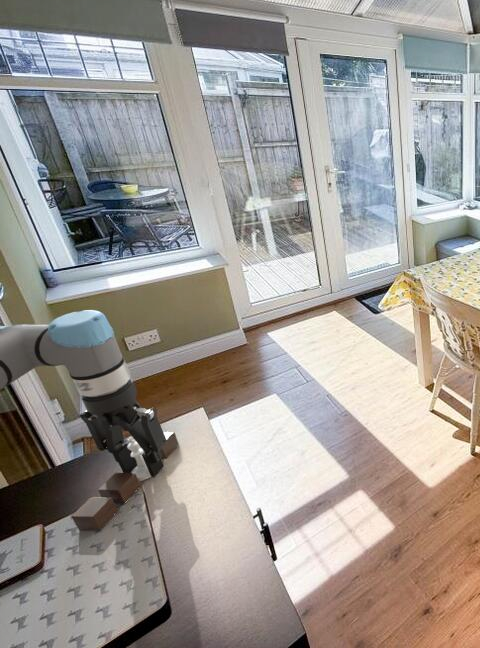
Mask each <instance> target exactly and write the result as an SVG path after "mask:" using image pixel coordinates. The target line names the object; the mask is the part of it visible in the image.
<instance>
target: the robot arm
mask: <svg viewBox="0 0 480 648" xmlns="http://www.w3.org/2000/svg"><path fill="white" fill-rule="evenodd" d="M58 366H63V367H65V368H66V370H67V371H68V374H69V377H70V378H71V379H72V381H73V383H74V385H75V387H76V390H77V391H78V394H79V395H80V399H81V401H82V403H83V405H84V407H85V410H84V411H82V412H81V413H79V416H78V417H79V418H80V419H81V421H83V422H84V423H85V424H86V427H87V429H88V431H89V433H90V435H91V437H92V439H93V441H94V443H95V445H96V447H97V449H98V450H99V451H100V452H104V451H105V450H107V452H108V453H110V454H112V457H113V458H114V461H115V462H116V463H118V466H119V467H120V469H121V471H122V473H131V471H132V470H133V469H134V468H135V467H136V466H137V462H136V458H135V457H131V453H132V451H131V450H129V449H128V448H127V446H128V444H129V443H126V442H128V441H127V439H124V432H128V433H129V434H130V436H131V437H132V438H133V439H134V440H135V441H136V442H137V443H138V444H139V448H141V449H143V453H142V454H141V455H142V457H143V459H144V461H145V464H146V466H147V468H148V470H149V473H150V475H151V477H150V478H156V476H157V475H158V474H159V473H160V472H161V471H162V470H163V469H164V468H165V464H164V461H163V459H161V458H162V454H161V452H160V449H161V448H162V447H163V445H164V444H165V443H166V442H167V440H166V437H165V435H164V433H163V432H164V431H163V428H162V426H161V422H160V420H159V418H158V409H157V408H156V407H154V406H151V407H150V408H149V409H148V408H143V407H142V405H141V404H140V403H139V402H138V400H137V396H138V395H137V394H138V390H137V387H136V383H135V382H134V380H133V378H132V373H131V372H130V369H129V367H128V365H127V362H126V360H125V358H124V356H123V353H122V351H121V349H120V347H119V344H118V341H117V338H116V336H115V331H114V329H113V327H112V326H111V324H110V322H109V320H108V319H107V317H106V315H105V314H104V313H103V312H101V311H99V310H95V309H84V310H81V311H72V312H70V313H66V314H63V315H60V316H58V317H56V318H54V319H53V320H51V322H50V323H49V324H25V323H24V324H20V323H19V324H18V323H17V324H10V325H1V326H0V391H1V390H3V389H4V388H6V387H7V386H9V385H10V384H12V383H14V382H15V381H17V380H18V379H20V378H21V377H23V376H25V375H26V374H28V373H29V372H31V371H32V370H33V369H36V368H38V367H58ZM106 447H107V448H106Z"/></svg>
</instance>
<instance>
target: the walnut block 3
mask: <svg viewBox="0 0 480 648" xmlns="http://www.w3.org/2000/svg"><path fill="white" fill-rule="evenodd" d="M163 433H164V435H165V437H166V440H167V442H166V443H165V444H164V445H163V447H162V448H161V449H160V452H161V454H162V458H161V459H162V460H164V459H165V460H167V459H168V458H169V457H170V456H171V455H172V453H173V452H174V451H175V450H176V449H177V448H178V447H179V445H180V443H179V441H178V438H177V435H176V433H175V431H163Z"/></svg>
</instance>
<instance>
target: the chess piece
mask: <svg viewBox="0 0 480 648" xmlns="http://www.w3.org/2000/svg"><path fill="white" fill-rule="evenodd" d="M126 440H127V441H126V442H129V443H127V444H128V446H127V448H128V449H129V450H131V451H132V453H131V457H135V459H136V462H137V466H136V467H135V468H134V469H133V470H132V471H131V473H135V474H136V476H137V479H138V481H139V482H141V481H145V480H147V479H150V478H152V477H151V475H150V473H149V470H148V468H147V466H146V464H145V461H144V459H143V457H142V454H143V453H144V451H143V449H142V448H141V447H140V446H139V444H138V443H137V442H136V441H135V439H134V438H133V437H132V435H130V436H129V437H127V439H126Z"/></svg>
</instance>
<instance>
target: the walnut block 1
mask: <svg viewBox="0 0 480 648" xmlns="http://www.w3.org/2000/svg"><path fill="white" fill-rule="evenodd" d="M117 511H118V512H119V509H118V507H117V504H115V503H114V501H113V499H112V498H111V497H101V496H90V497H89V498H88V499H87V500H86V501H85V502H84V503H83V504H82V505H81V506H80V507H79V508H78V509H77V510H76V511H75V512H74V513H73V514H72V515H71V516H70V517H71V520H72V521H73V522H74V524H75V526H76V528H77V529H78V531H81V532H82V531H83V532H85V531H89V532H100V531H101V532H102V530H103V529H104V528H105V527H106V525H107V524H108V523H109V522H110V521H111V520H113V518H114V517H115V516H116V514H117V513H118V512H117ZM116 512H117V513H116ZM115 513H116V514H115ZM114 514H115V515H114ZM109 520H110V521H109ZM108 521H109V522H108ZM107 522H108V523H107ZM106 523H107V524H106ZM105 524H106V525H105ZM95 530H97V531H95ZM99 530H100V531H99Z"/></svg>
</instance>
